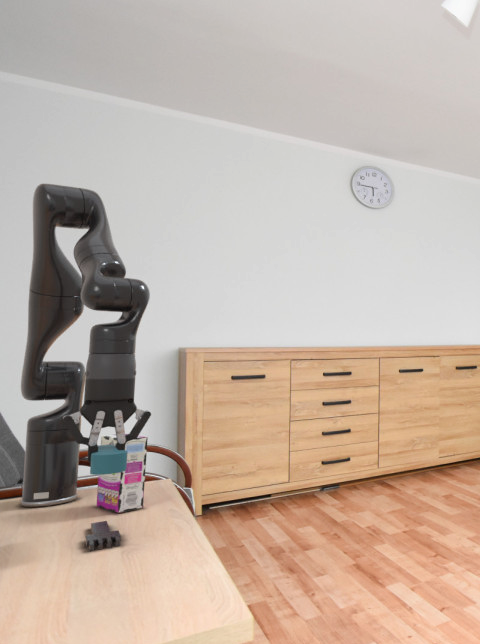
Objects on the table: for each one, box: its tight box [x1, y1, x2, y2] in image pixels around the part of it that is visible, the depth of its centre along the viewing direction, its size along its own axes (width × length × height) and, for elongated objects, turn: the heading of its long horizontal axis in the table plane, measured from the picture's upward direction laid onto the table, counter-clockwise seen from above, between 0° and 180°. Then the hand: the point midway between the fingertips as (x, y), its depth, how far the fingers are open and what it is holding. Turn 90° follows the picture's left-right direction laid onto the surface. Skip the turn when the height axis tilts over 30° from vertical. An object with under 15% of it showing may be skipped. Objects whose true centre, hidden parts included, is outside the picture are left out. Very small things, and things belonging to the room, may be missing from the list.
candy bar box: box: [96, 433, 149, 514], centre depth 129 cm, size 11×5×16 cm, turn 62°
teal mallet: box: [89, 444, 128, 476], centre depth 109 cm, size 14×5×4 cm, turn 45°
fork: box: [84, 520, 121, 552], centre depth 109 cm, size 16×5×1 cm, turn 45°
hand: (105, 463), depth 111 cm, fingers closed on teal mallet, 2 cm apart
